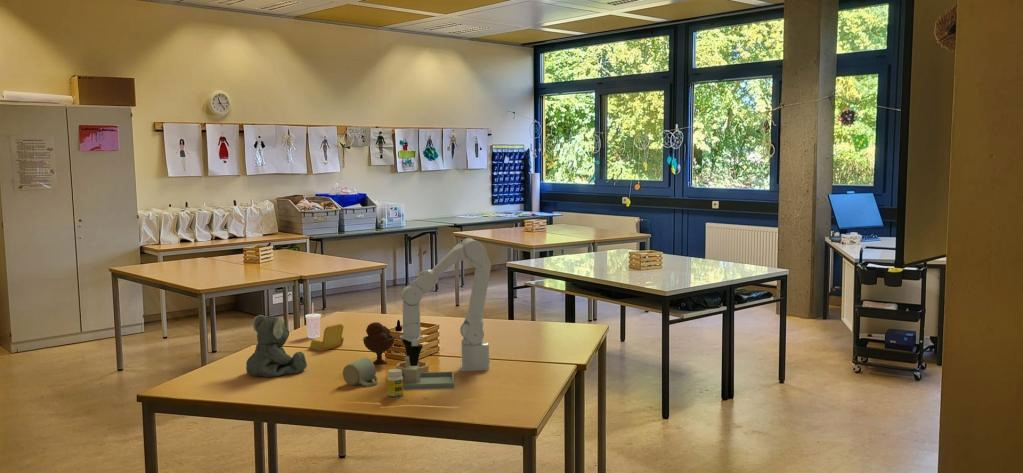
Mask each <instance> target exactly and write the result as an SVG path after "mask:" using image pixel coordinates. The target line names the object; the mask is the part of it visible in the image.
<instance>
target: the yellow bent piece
mask: <svg viewBox="0 0 1023 473" xmlns="http://www.w3.org/2000/svg"><path fill="white" fill-rule="evenodd" d="M344 327H345V326H344V325H343V324H342V323H339V324H338V323H337V324H333V325H329V326H328V325H327V327H326V328H325V329H324V331H323V338H322V340H318V339H317V340H316V339H312V340H311V341H310V344H309V345H310V346H309V349H311V350H315V351H326V350H329V349H333V348H337V347H341V345H342V346H343V344H344V339H345V337H344V336H343V331H344Z"/></svg>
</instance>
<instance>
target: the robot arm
mask: <svg viewBox="0 0 1023 473" xmlns="http://www.w3.org/2000/svg"><path fill="white" fill-rule="evenodd" d="M467 259H468V260H469V261H470V262H471V264H472V265H473V267H474V268H475V270H474V277H473V281H472V288H471V292H470V298H469V303H468V310H467V314H466V315H465V317H464V321H463V323H462V324H461V326H460V329H459V332H460V335H461V336H462V339H461V364H460V371H461V372H462V371H463V372H467V371H489V370H490V364H491V363H490V362H491V360H490V347H489V346H490V345H489V342H484V341H483V340H484V338H485V332H484V328H483V327H484V319H483V318H484V317H483V315H484V308H485V303H486V297H487V293H488V286H489V281H490V276H491V275H490V274H491V270H492V263H491V261H490V257H489V255H488V253H487V248H486V247H485V246H484V244H482V243H481V242H480V241H478V240H475V239H473V238H471V237H467V238H464V239H463V240H461V242H460V243H458V244H456V245H454V247H453V248H452V249H451V250H450V251H449V252H448V253H447V254H446V255H445V256H443V257H442V259H440V260H439V262H437V264H436V265H435V266H434V267H433V268H432V269H425V270H424V271H423V270H421V271H419V275H418V276H417V277H416V278H415V279H414V280H413V281H410V282H409V285H407V286H404V288H403V289H402V291H401V292H400V297H401V300H403V301H402V335H399V339H400V340H401V341H402V343H403V345H404V350H405V354H406V356H409V360H410V365H411V366H417V364H418V359H419V358H420V355H421V351H422V349H423V348H424V346H423V344H419V341H420V340H421V338H422V334H421V333H422V332H421V308H420V302H421V301H422V297H423V296H425V295H426V294H427V293H428V292H429V291H430V290H431V289H432V288H433V287H434V286H435V285H437V284H438V282H439V277H440V276H441V275H442V274H443V273H445V272H446V271H447V270H448V269H450V268H451V267H452V266H453V265H455V263H457V262H461V261H467Z"/></svg>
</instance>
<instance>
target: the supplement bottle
mask: <svg viewBox="0 0 1023 473" xmlns="http://www.w3.org/2000/svg"><path fill="white" fill-rule="evenodd" d="M387 375H388V376H387V378H386V393H387V394H386V397H387V398H388V399H392V400H396V399H401V398H404V391H403V377H402V376H401V375H402V370H401V369H396V368H391V369H388V370H387Z"/></svg>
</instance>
